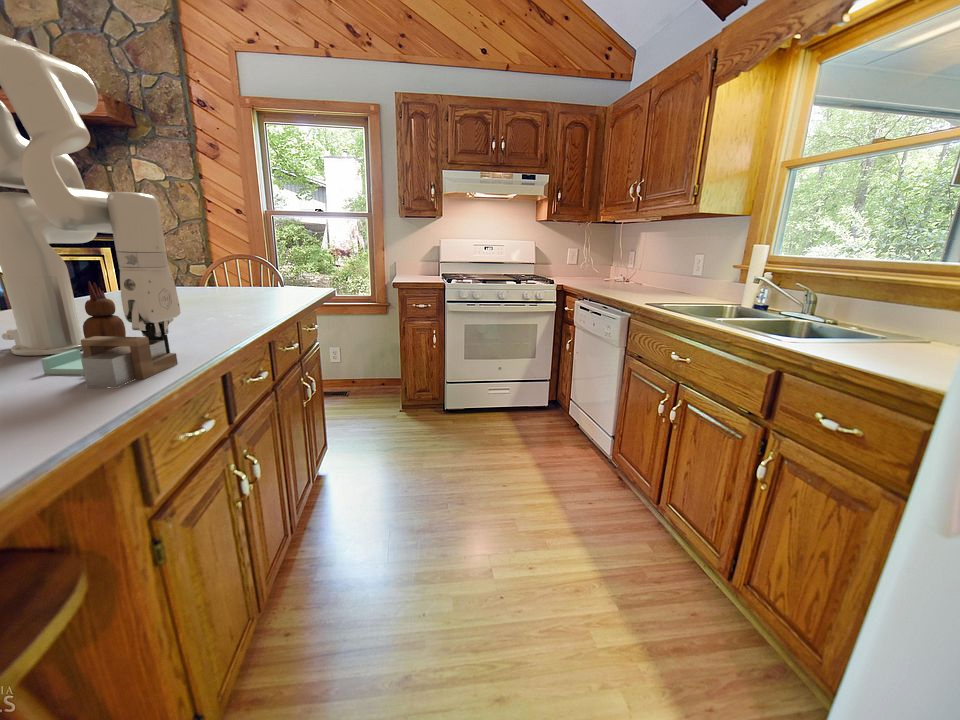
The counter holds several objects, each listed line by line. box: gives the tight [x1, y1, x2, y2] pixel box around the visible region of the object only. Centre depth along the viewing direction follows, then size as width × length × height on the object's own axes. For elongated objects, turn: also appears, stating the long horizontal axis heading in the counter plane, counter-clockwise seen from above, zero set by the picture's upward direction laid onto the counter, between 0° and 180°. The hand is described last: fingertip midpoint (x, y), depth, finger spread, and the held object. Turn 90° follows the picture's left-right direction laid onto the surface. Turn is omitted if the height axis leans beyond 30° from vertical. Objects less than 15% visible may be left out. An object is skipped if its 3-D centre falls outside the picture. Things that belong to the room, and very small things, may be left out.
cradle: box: [40, 349, 84, 375], centre depth 80 cm, size 9×7×3 cm
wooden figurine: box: [82, 280, 127, 351], centre depth 91 cm, size 7×6×15 cm
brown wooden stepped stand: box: [81, 336, 179, 380], centre depth 79 cm, size 9×10×7 cm
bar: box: [81, 340, 166, 389], centre depth 77 cm, size 5×14×5 cm, turn 6°
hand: (159, 354), depth 86 cm, fingers closed
